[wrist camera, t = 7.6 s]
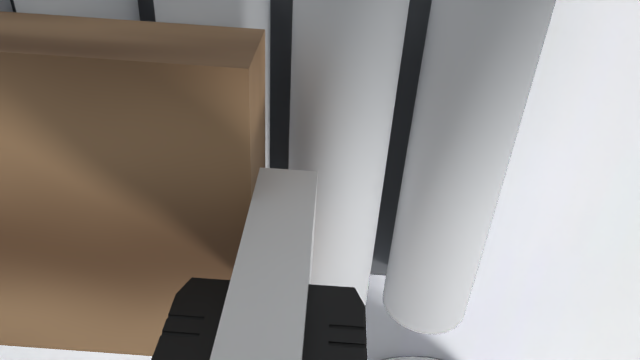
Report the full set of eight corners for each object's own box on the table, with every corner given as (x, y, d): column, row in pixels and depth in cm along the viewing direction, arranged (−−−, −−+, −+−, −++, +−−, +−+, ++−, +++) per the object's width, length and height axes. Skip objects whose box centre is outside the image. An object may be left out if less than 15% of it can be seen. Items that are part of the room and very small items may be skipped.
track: (-374, -109, 15) (-816, -71, 9) (556, -47, 15) (685, 31, 9) (-179, 228, 22) (-367, 371, 16) (467, 274, 21) (510, 435, 16)
